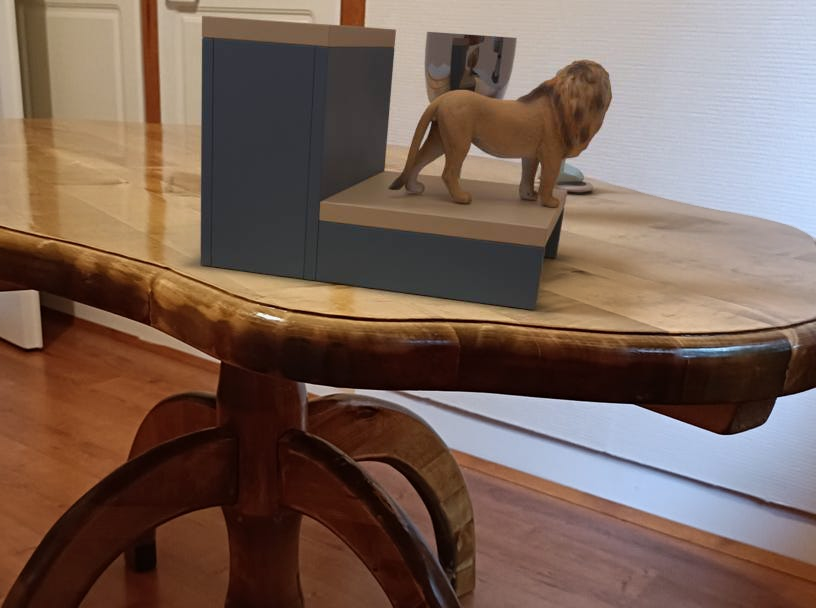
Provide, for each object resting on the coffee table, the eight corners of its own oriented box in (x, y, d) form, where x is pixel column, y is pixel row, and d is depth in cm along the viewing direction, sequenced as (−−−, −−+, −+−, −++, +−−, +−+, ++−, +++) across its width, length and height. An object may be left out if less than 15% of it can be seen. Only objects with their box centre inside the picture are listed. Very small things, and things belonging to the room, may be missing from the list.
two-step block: (556, 256, 73) (590, 43, 67) (534, 310, 58) (576, 41, 52) (284, 223, 78) (292, 22, 72) (200, 265, 63) (201, 15, 57)
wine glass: (494, 219, 86) (518, 37, 80) (406, 211, 87) (423, 31, 81) (495, 205, 93) (516, 38, 87) (413, 198, 94) (429, 32, 88)
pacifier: (594, 189, 109) (541, 182, 111) (606, 132, 107) (552, 125, 108) (588, 198, 103) (533, 190, 104) (601, 137, 100) (544, 130, 102)
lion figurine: (571, 195, 68) (593, 59, 65) (610, 209, 64) (636, 63, 60) (375, 191, 64) (387, 45, 61) (402, 205, 60) (416, 49, 56)
